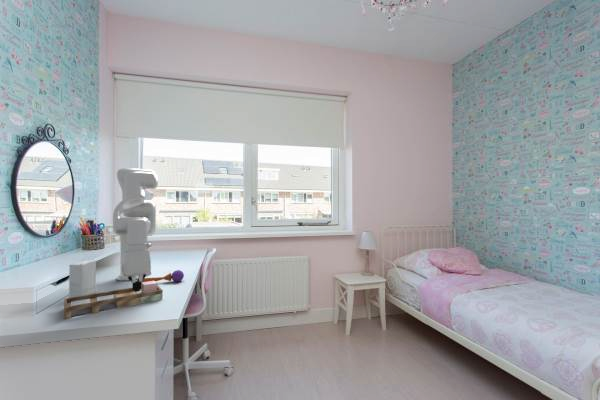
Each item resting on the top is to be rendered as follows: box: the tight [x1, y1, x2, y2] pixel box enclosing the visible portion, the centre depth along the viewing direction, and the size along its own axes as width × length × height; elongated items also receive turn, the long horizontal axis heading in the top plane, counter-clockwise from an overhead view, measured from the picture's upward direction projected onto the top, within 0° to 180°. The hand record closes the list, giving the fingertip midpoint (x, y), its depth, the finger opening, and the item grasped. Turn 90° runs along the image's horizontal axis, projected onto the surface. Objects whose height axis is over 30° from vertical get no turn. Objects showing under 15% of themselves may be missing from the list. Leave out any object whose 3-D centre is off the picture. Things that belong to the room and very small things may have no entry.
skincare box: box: [68, 259, 97, 298], centre depth 121 cm, size 8×6×15 cm
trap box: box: [63, 284, 163, 320], centre depth 112 cm, size 32×12×4 cm, turn 130°
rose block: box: [141, 281, 158, 293], centre depth 119 cm, size 5×5×4 cm
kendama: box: [141, 269, 185, 284], centre depth 142 cm, size 6×6×20 cm
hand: (136, 290), depth 116 cm, fingers closed
